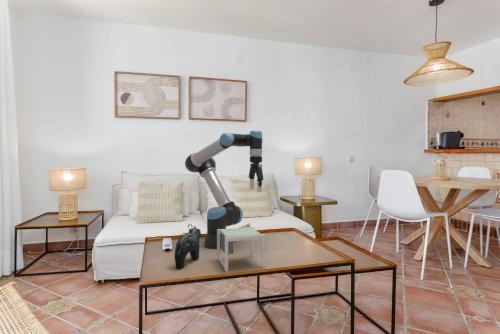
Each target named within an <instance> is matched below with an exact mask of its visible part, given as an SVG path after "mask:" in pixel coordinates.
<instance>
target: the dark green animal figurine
mask: <svg viewBox="0 0 500 334" xmlns="http://www.w3.org/2000/svg"><path fill="white" fill-rule="evenodd" d="M190 227H191V228H190ZM187 228H188V232H183V233H181V234H180V235H179V238H178V240H177V241H176V245H175V248H174V261H175V269H176V270H183V269H184V268H185V261H186V257H187V256H188V254H189V255H190V260H191V261H198V259H199V260H200V238H201V234H202V233H201V229H200V228H197V227H196V225H192V224H191V223H190V224H188V225H187Z"/></svg>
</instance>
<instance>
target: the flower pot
mask: <svg viewBox="0 0 500 334" xmlns="http://www.w3.org/2000/svg"><path fill="white" fill-rule="evenodd" d="M245 227H251V224H250V222H248V223H247V224H245V225H242V226H239V227H238V228H245Z"/></svg>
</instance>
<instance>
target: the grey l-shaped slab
mask: <svg viewBox="0 0 500 334" xmlns="http://www.w3.org/2000/svg"><path fill="white" fill-rule="evenodd" d="M228 229H229V230H220V232H221V248H220V250H221V251H222V252H223V254H225V237H235V236H248V235H261V232H259V231H258V230H256V229H255V228H254V229H253V228H244V229H231V228H228ZM233 254H234V241H231V242H228V255H233Z"/></svg>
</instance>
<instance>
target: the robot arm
mask: <svg viewBox="0 0 500 334" xmlns="http://www.w3.org/2000/svg"><path fill="white" fill-rule="evenodd" d="M230 147H249V163H250V168H249V174H248V178H249V190H255V177H256V178H257V179H256V184H257V185H256V192H257V193H262V192H263V186H262V185H263V181H264V180H265V179H264V174H263V168H262V167H263V166H262V165H263V164H262V163H263V132H262V131H261V130H250V131H249V133H248V134H246V133H245V134H242V133H230V132H223V133H222V134H221V135H220V137H219V138H218V139H217V140H215V141H213V142H211V144H209V145H207V146H206V147H204V148H202V149H200V150H198V151H197V152H192V153H190V155H188V156H187V157H186V159H185V162H184V166H185V168H186V169H187V171H188V172H191V173H198V174H199V176H200V177H201V178H203V179H204V180H205V182H206V184H207V187H208V189H209V190H210V192H211V194H212V196H213V199H214V200H215V202H216V204H217V206H213V207H211V208H209V209H208V210H207V212H206V213H207V214H206V226H207V227H206V236H205V239H204V243H203V246H204V247H205V248H207V249H213V250H215V249H216V250H217V229H227V228H228V227H230V226H235V225H237V224H239V223H241V221H242V220H243V217H244V213H243V210H242V207H240V206H239V205H236V204H235V202H234V201H233V200H230V197H229V195H228V194H227V192H226V190H225V188H224V186H223V185H222V182H221V180H220V179H219V177H218V176H217V173H216V170H217V169H216V168H217V163H216V160H215V158H214V157H215V156H216V155H219V154H221V153H222V152H223V151H226V150H227V149H229V148H230ZM255 175H256V176H255ZM220 249H221V233H220Z"/></svg>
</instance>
